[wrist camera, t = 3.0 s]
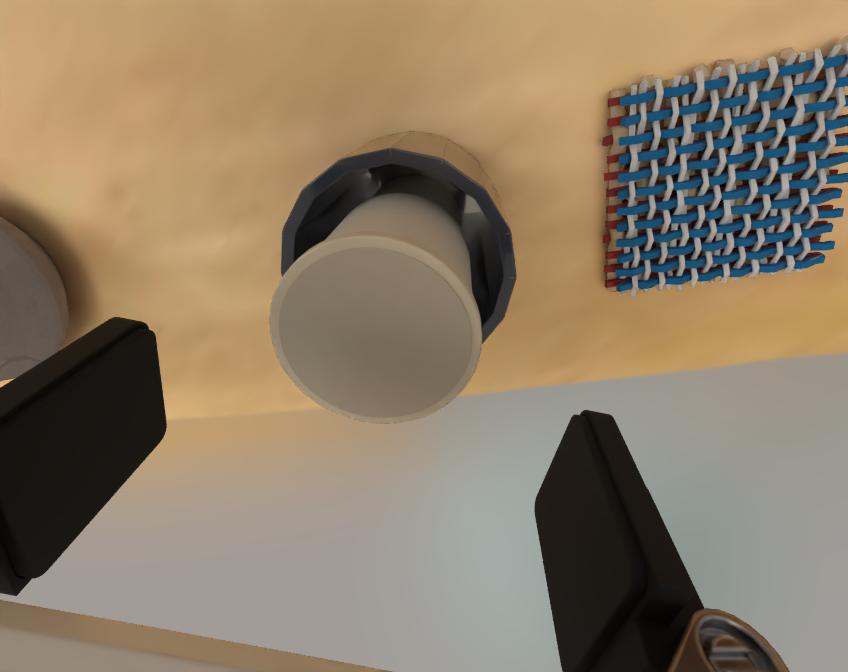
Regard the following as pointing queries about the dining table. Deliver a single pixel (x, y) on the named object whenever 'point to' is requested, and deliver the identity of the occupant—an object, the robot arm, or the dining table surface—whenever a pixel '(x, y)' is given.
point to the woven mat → (772, 159)
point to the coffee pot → (28, 303)
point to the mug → (417, 156)
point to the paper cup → (383, 308)
